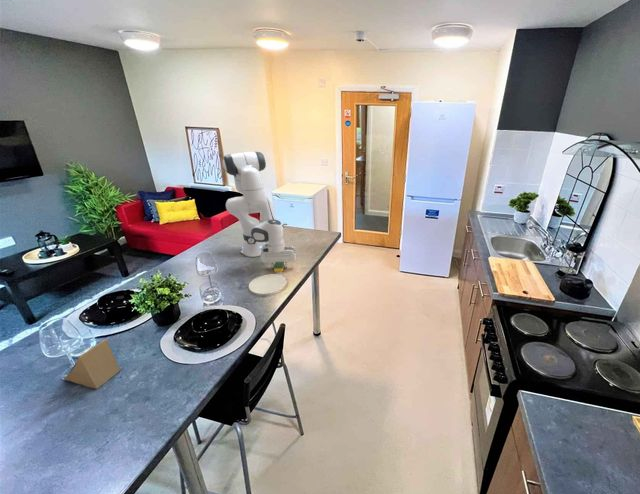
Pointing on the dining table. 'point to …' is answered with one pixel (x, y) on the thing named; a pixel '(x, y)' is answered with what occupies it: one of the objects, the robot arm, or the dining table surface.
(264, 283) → the plate
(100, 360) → the sandwich container
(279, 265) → the sponge
